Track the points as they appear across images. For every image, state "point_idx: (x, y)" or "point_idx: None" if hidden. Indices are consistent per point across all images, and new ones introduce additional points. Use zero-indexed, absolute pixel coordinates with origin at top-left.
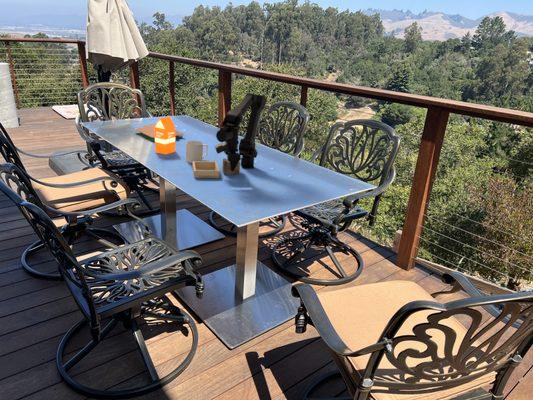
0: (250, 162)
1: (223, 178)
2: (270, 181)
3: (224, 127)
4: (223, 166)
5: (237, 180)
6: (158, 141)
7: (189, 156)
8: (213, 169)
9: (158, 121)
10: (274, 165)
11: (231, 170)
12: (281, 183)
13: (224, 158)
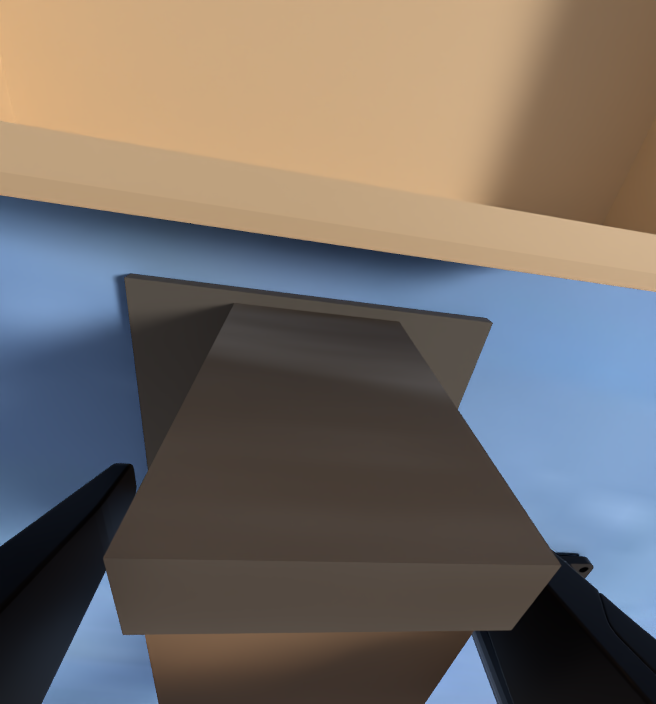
0: (487, 669)
1: (122, 266)
2: (88, 655)
3: None
4: (306, 386)
5: (58, 437)
6: None
7: None
8: (545, 178)
9: None
10: (456, 700)
11: (101, 478)
12: (52, 693)
13: (531, 602)
